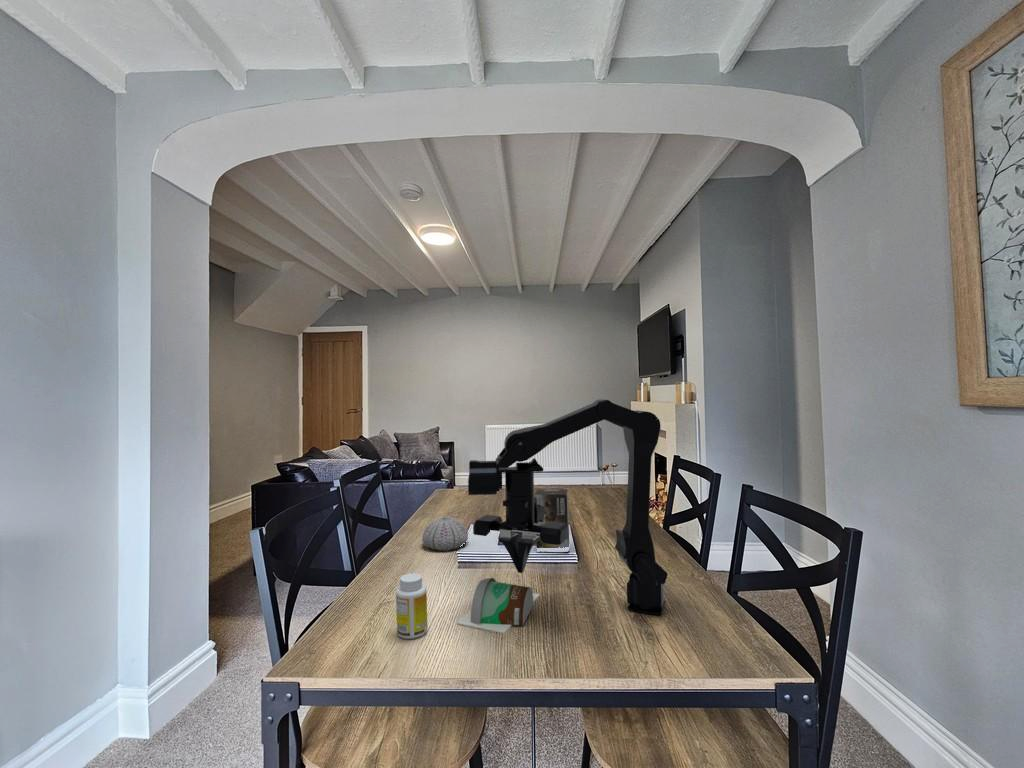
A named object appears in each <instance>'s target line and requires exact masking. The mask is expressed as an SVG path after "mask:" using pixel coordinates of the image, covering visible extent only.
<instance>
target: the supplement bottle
mask: <svg viewBox="0 0 1024 768" xmlns="http://www.w3.org/2000/svg"><path fill="white" fill-rule="evenodd" d="M399 581H400V582H399V586H398V588H397V589H396V591H395V600H396V601H395V602H396V604H395V607H396V608H395V609H396V612H395V613H396V633H397V635H398V636H399V638H402V639H405V640H412V639H417V638H420V637H423V636H424V635H425V634H426V633H427V631H428V601H427V600H428V599H427V595H428V594H427V587H426V585H424V584H423V577H422V575H421V574H419V573H407V574H404V575H402V576H401V577H400V579H399Z"/></svg>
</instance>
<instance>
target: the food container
mask: <svg viewBox="0 0 1024 768" xmlns="http://www.w3.org/2000/svg"><path fill="white" fill-rule="evenodd" d="M533 593H534V592H533V590H532V588H531V586H530V587H529V586H523V585H517V584H511V583H505V582H500V581H496V579H495V578H494V577H489V578H483V579H482V580H480V581H479V582H478V583H477V586H476V588H475V591H474V594H473V597H472V602H471V607H470V609H471V610H470V611H471V623H474V624H478V625H480V623H485V624H503V625H512V626H524V624H525V622H526V619H527V618H528V616H529V614H530V612H531V610H532V608H533V606H534V603H533Z"/></svg>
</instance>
